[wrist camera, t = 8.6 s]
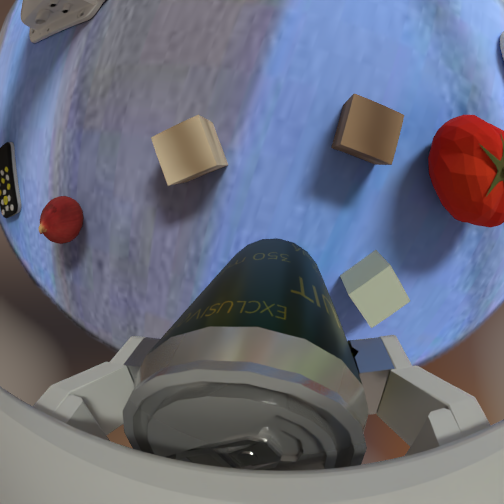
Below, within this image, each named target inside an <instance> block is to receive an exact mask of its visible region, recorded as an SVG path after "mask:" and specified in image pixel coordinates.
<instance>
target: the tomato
mask: <svg viewBox="0 0 504 504" xmlns="http://www.w3.org/2000/svg"><path fill="white" fill-rule="evenodd" d="M428 163H429V175H430V178H431V181H432V184H433V187H434V189H435V191H436V193H437V195H438V197H439V199H440V201H441V203H442V205H443V206H444V207H445V209H446V210H447V211H448V212H449V213H450V214H451V215H452V216H453V217H454V218H455V219H457V220H459V221H461V222H468V223H471V224H474V225H479V226H485V227H494V226H498V225H501V224H502V223H503V222H504V131H503V130H501V129H499V128H497V127H496V126H494V125H492V124H490V123H487V122H485V121H484V120H482V119H480V118H478V117H477V116H475V115H462V116H459V117H456V118H453V119H451V120H449V121H448V122H446V123H445V124H444V125H443V126H442V127H440V128H439V129H438V131H437V133H436V134H435V136H434V138H433V141H432V145H431V149H430V153H429V157H428Z"/></svg>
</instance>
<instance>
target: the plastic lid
mask: <svg viewBox="0 0 504 504" xmlns="http://www.w3.org/2000/svg"><path fill="white" fill-rule="evenodd" d="M500 44H501V45H500V47H501V48H500V49H501V53H502V57H503V58H504V31H503V32H502V34H501V37H500ZM503 60H504V59H503Z"/></svg>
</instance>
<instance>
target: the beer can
mask: <svg viewBox="0 0 504 504" xmlns="http://www.w3.org/2000/svg"><path fill="white" fill-rule="evenodd" d="M368 413H369V410H368V406H367V401H366V397H365V393H364V388H363V385H362V382H361V379H360V376H359V373H358V370H357V367H356V364H355V362H354V359H353V356H352V353H351V350H350V348H349V345H348V342H347V340H346V337H345V334H344V331H343V329H342V326H341V324H340V321H339V318H338V316H337V313H336V311H335V308H334V306H333V303H332V300H331V298H330V295H329V293H328V290H327V288H326V286H325V283H324V281H323V278H322V276H321V273H320V271H319V269H318V266H317V264H316V262H315V261H314V260H313V259H312V257H311V256H310V255H309V254H308V252H307V251H305V250H304V249H302V248H301V247H299V246H298V245H296V244H295V243H293V242H289V241H285V240H282V239H262V240H259V241H257V242H254V243H251V244H249V245H247V246H246V247H244V248H243V249H242V250H241V251H239V252H238V253H237V254H236V255H235V256H234V257H233V258H232V259H231V260H230V262H229V263H228V264H227V265H226V266H225V267H224V268H223V269H222V270H221V272H220V273H219V274H218V275H217V276H216V277H215V278H214V279H213V280H212V282H211V283H210V284H209V285H208V286H207V287H206V288H205V289H204V291H203V292H202V293H201V294H200V295H199V296H198V297H197V298H196V300H195V301H194V302H193V303H192V304H191V305H190V306H189V307H188V309H187V310H186V311H185V312H184V313H183V314H182V315H181V316H180V318H179V319H178V320H177V321H176V322H175V323H174V324H173V326H172V327H171V328H170V329H169V330H168V331H167V332H166V333H165V335H164V336H163V337H162V338H161V339H160V340H159V341H158V343H157V344H156V345H155V346H154V347H153V348H152V349H151V351H150V352H149V353H148V354H147V355H146V357H145V359H144V361H143V362H142V364H141V366H140V368H139V370H138V372H137V374H136V376H135V378H134V390H133V391H132V393H131V395H130V397H129V399H128V401H127V403H126V405H125V407H124V409H123V423H124V432H125V434H126V436H127V438H128V440H129V442H130V444H131V446H132V447H133V449H135V450H139V451H142V452H146V453H150V454H154V455H158V456H162V457H166V458H171V459H176V460H180V461H186V462H191V463H197V464H203V465H210V466H218V467H226V468H236V469H249V470H273V471H294V470H317V469H330V468H340V467H349V466H356V465H361V463H362V460H363V457H364V454H365V452H366V448H367V447H366V443H365V438H364V434H363V432H364V428H365V424H366V421H367V417H368Z"/></svg>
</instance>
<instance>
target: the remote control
mask: <svg viewBox="0 0 504 504" xmlns="http://www.w3.org/2000/svg"><path fill="white" fill-rule="evenodd" d="M0 207H1V212H2V215H3V216H4V217H5V218H8V217H11V216H13V215H15V214H17V213H19V212H20V210H21V199H20V193H19V186H18V179H17V171H16V161H15V148H14V144H13V143H12V142H7V143H5V144H4V145H3V146H2V147H1V148H0Z"/></svg>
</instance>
